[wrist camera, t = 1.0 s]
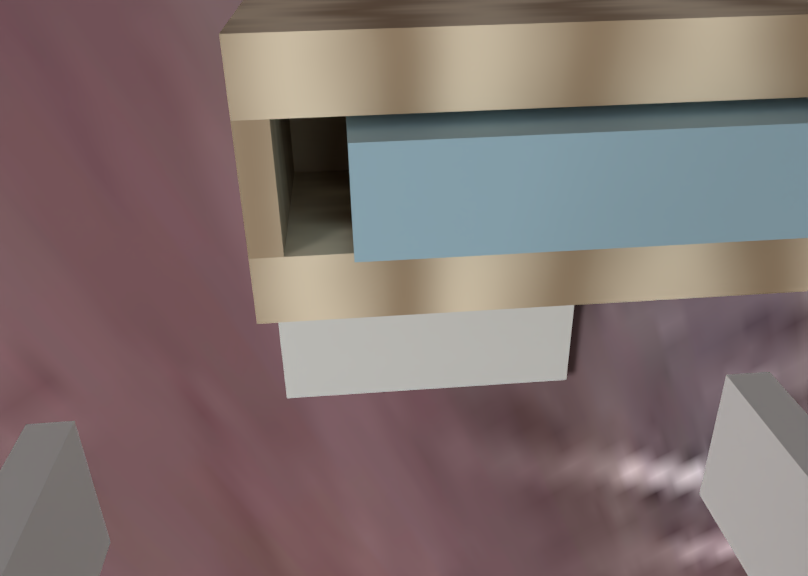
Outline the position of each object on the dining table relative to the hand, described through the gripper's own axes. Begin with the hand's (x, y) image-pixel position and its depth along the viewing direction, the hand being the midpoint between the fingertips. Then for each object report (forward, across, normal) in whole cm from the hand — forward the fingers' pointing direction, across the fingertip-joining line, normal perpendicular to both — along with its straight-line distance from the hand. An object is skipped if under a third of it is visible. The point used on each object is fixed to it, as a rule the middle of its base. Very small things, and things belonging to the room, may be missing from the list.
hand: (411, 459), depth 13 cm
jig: (+23, +8, 0) cm, 24 cm away
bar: (+16, +8, 0) cm, 18 cm away
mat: (+23, +3, -11) cm, 26 cm away
